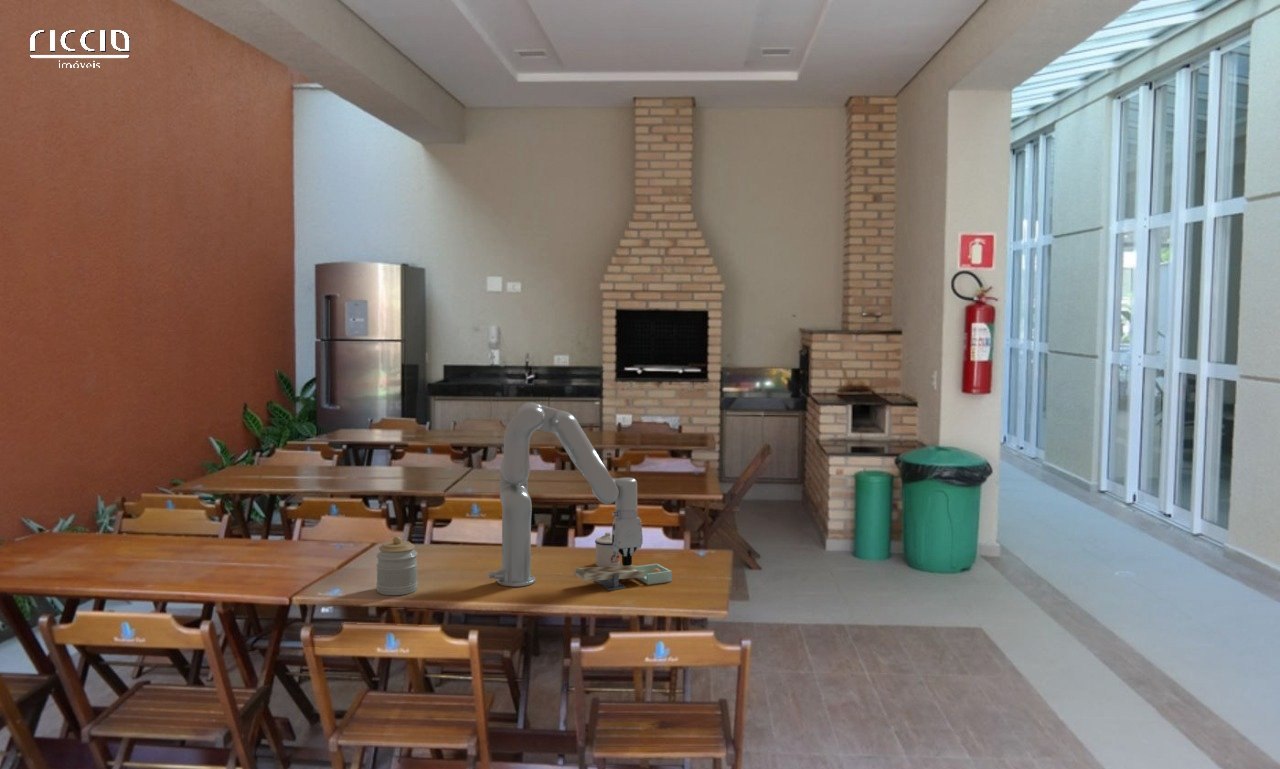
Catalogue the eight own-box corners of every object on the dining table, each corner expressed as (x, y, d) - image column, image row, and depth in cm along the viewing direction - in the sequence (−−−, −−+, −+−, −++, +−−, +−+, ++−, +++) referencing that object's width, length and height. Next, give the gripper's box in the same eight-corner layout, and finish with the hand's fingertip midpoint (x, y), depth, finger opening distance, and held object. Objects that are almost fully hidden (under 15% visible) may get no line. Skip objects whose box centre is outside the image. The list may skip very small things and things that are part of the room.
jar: (407, 597, 297) (407, 542, 295) (369, 594, 299) (368, 540, 298) (424, 585, 309) (424, 532, 308) (387, 583, 312) (386, 530, 310)
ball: (663, 577, 321) (655, 579, 319) (659, 574, 324) (650, 577, 322) (662, 568, 320) (653, 571, 319) (657, 566, 323) (649, 568, 322)
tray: (647, 584, 314) (647, 574, 314) (633, 576, 323) (633, 566, 323) (671, 581, 318) (671, 571, 318) (657, 573, 327) (657, 563, 327)
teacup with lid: (614, 569, 332) (615, 536, 332) (591, 566, 335) (591, 534, 335) (626, 560, 344) (626, 529, 343) (603, 558, 347) (603, 527, 346)
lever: (584, 580, 304) (584, 572, 304) (568, 570, 316) (569, 563, 316) (644, 577, 315) (645, 569, 314) (627, 567, 326) (627, 560, 326)
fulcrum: (609, 590, 307) (609, 576, 306) (594, 581, 317) (594, 567, 317) (625, 588, 309) (625, 574, 309) (610, 578, 320) (610, 565, 320)
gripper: (611, 518, 315) (612, 572, 317) (650, 513, 322) (651, 566, 324) (602, 514, 322) (602, 566, 324) (640, 509, 329) (641, 561, 330)
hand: (626, 566), depth 324 cm, fingers closed
